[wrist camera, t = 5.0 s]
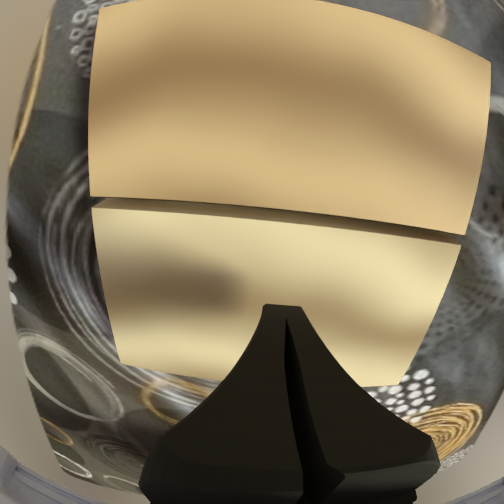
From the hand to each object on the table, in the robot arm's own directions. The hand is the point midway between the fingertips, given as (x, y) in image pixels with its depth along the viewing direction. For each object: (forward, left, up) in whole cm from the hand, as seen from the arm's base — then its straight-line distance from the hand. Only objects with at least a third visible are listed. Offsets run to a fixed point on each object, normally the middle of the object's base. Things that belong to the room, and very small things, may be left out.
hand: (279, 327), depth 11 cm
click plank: (-1, 0, -4) cm, 4 cm away
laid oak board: (+8, 0, -4) cm, 8 cm away
